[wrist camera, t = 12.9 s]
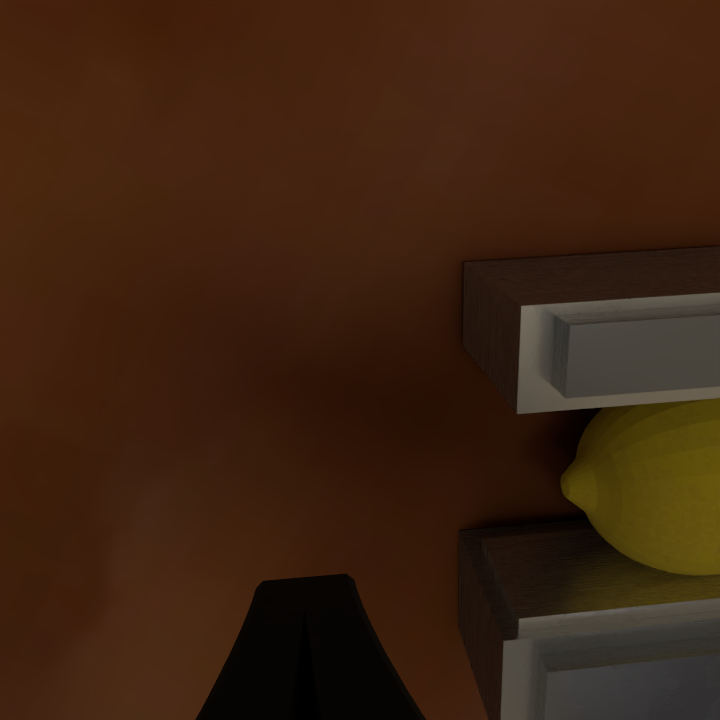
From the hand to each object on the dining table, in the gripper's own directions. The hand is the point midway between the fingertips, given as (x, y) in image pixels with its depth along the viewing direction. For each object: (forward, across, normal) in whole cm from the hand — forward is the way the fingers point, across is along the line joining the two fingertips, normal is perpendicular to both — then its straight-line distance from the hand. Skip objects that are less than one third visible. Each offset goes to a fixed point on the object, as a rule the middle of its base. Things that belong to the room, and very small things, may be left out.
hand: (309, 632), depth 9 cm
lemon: (+8, -7, +3) cm, 11 cm away
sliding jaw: (+10, -11, -2) cm, 15 cm away
